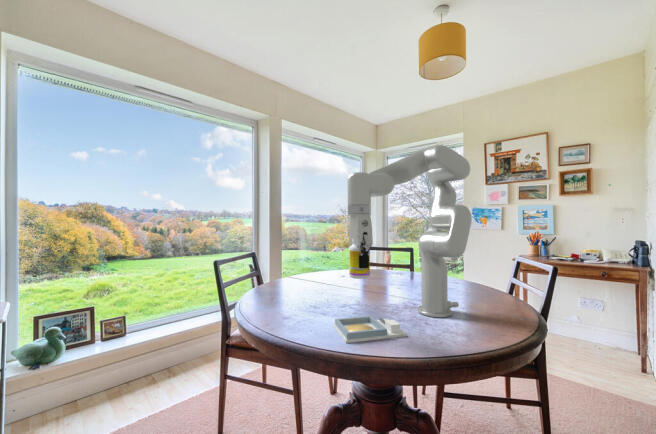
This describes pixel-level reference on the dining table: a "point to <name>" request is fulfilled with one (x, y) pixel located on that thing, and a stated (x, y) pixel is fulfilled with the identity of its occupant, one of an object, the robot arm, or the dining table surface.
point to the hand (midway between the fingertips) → (359, 265)
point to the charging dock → (367, 329)
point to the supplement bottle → (357, 264)
